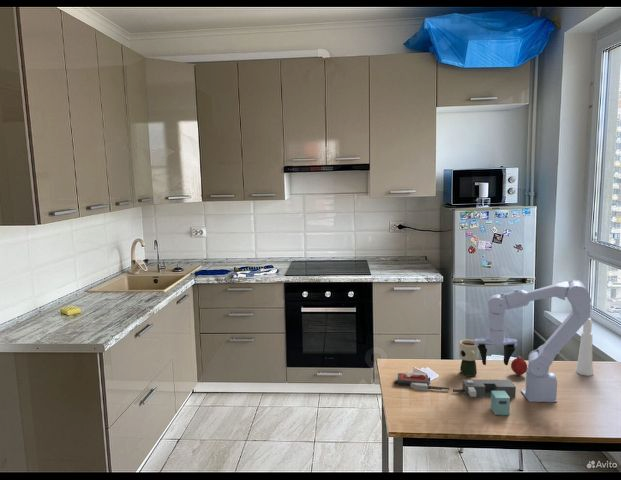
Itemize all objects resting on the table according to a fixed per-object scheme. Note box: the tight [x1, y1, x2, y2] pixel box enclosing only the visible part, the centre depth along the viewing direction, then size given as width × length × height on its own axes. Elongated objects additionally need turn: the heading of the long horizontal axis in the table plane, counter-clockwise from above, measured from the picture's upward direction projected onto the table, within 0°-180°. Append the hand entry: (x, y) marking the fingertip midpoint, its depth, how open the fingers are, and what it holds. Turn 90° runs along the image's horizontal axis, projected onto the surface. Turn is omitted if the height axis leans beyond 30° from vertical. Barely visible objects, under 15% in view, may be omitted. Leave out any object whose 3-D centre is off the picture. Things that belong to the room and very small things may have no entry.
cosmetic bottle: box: [575, 317, 594, 377], centre depth 180 cm, size 6×6×22 cm
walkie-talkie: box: [393, 371, 451, 392], centre depth 174 cm, size 9×4×20 cm
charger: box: [490, 391, 511, 416], centre depth 155 cm, size 4×7×6 cm, turn 176°
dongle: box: [468, 387, 477, 398], centre depth 163 cm, size 2×4×2 cm, turn 176°
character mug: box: [458, 339, 480, 377], centre depth 182 cm, size 11×7×13 cm, turn 0°
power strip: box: [452, 378, 517, 398], centre depth 167 cm, size 21×6×5 cm, turn 86°
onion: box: [510, 355, 528, 377], centre depth 180 cm, size 6×6×8 cm
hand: (494, 364), depth 168 cm, fingers open, 7 cm apart
